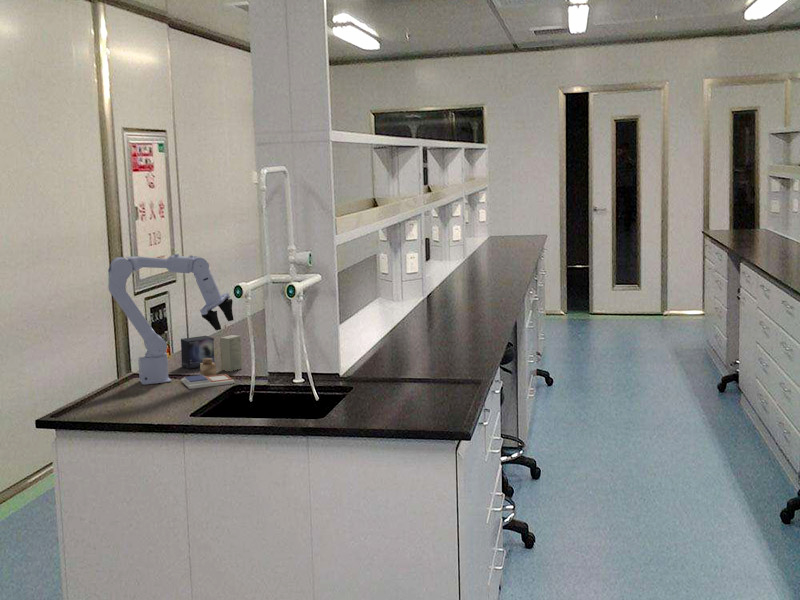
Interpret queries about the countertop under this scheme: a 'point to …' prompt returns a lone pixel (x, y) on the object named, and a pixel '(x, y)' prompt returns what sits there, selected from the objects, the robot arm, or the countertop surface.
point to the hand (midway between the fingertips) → (224, 325)
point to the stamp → (207, 367)
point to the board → (207, 380)
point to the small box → (196, 351)
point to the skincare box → (231, 352)
